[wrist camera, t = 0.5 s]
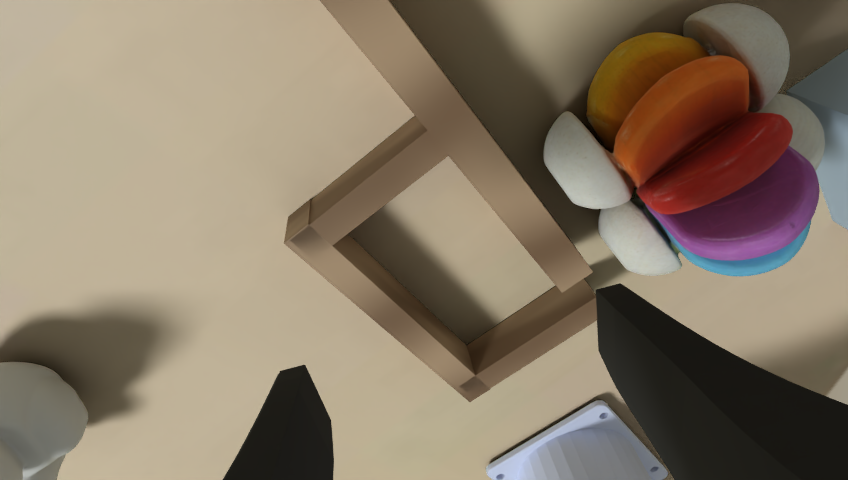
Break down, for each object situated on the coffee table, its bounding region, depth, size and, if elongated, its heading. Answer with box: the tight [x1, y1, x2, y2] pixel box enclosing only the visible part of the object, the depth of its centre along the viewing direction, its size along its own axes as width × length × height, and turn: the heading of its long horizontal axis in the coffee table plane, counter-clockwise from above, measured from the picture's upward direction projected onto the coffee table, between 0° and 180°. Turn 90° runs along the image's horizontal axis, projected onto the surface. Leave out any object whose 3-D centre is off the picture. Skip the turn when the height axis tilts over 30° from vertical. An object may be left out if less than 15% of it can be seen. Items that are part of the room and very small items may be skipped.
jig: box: [284, 0, 597, 402], centre depth 18 cm, size 22×22×4 cm
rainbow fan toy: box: [543, 3, 825, 276], centre depth 19 cm, size 8×10×7 cm
